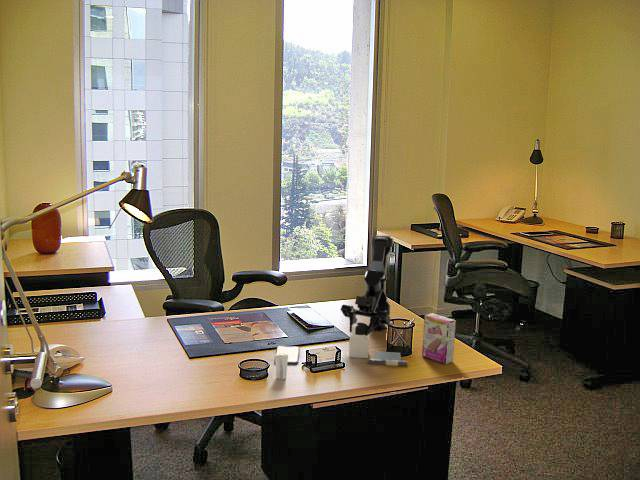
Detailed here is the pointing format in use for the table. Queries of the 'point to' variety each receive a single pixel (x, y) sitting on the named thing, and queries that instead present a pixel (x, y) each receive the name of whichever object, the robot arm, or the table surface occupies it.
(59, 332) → the table surface
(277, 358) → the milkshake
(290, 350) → the phone case
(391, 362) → the marker pen
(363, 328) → the medicine bottle
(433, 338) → the candy bar box
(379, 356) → the slate mat
